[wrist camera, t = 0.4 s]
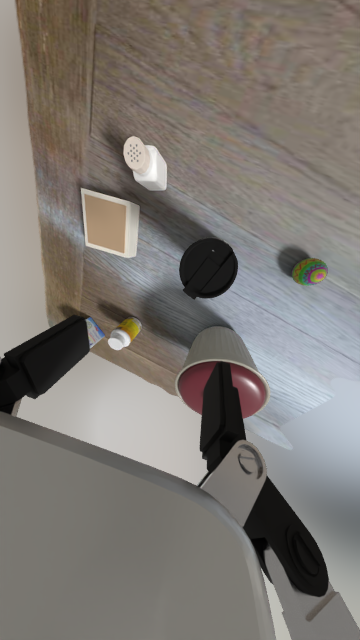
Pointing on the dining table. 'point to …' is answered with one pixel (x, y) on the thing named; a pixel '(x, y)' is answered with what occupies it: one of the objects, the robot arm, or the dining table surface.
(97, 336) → the medicine box
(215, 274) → the travel mug
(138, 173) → the salt shaker
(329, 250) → the dining table surface
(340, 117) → the dining table surface
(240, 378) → the canister
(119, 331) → the supplement bottle
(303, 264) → the egg
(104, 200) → the pedestal
